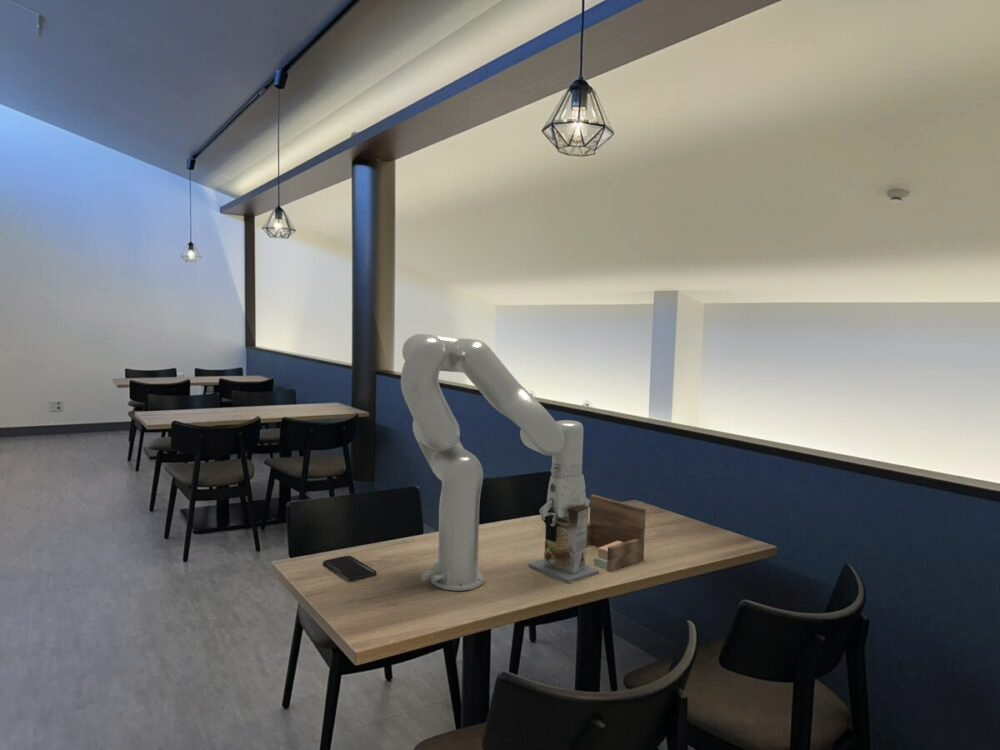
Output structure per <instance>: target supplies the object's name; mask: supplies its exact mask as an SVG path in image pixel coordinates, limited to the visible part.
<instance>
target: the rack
mask: <svg viewBox="0 0 1000 750" xmlns="http://www.w3.org/2000/svg"><path fill="white" fill-rule="evenodd" d="M589 498H590V499H589V500H590V503H589V522H588V523H587V540H586V547H589V546H594V547H597V548H599V547H602V546H605V545H607V544H610V543H613V542H615V541H621V542H623V543H620V544H617V545H613V546H610V547H608V558H607V569H606V571H608V572H614V571H617V570H619V569H622V568H626V567H628V566H631V565H634V564H637V563H641V562H643V561H644V554H645V553H644V552H645V534H646V533H645V531H646V530H645V529H646V512H647V511H646V508H644V507H640V506H636V505H633V504H629V503H625V502H621V501H618V500H615V499H611V498H608V497H603V496H600V495H598V494H591V495H590V497H589Z"/></svg>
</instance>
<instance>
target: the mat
mask: <svg viewBox="0 0 1000 750" xmlns="http://www.w3.org/2000/svg"><path fill="white" fill-rule="evenodd" d="M528 566H529V568H531V569H533V570H535V569H536V570H535V571H538V572H540V573H543V574H546V575H547V574H548V576H550V577H552V578H554V577H555V578H554V579H557V580H559V579H560V580H559V581H561V580H562V582H564V581H565V582H564V583H566V582H568V583H569V584H571V583H573V582H572V581H574V582H577V581H580V580H583V579H586V578H589V577H592V576H595V575H598V574H599V572H600V571H599V569H597V568H594V567H591V566H590V565H589V566H588V565H586V564H585V568H583V569H581V570H580V571H578V572H576V573H575V574H572V573H569V572H565V571H562V570H558V569H555V568H551V567H548V566H545V565H544V558H542V559H540V560H536V561H532V562H528ZM594 574H595V575H594ZM588 576H589V577H588ZM585 577H586V578H585ZM582 578H583V579H582ZM579 579H580V580H579ZM576 580H577V581H576ZM570 582H571V583H570ZM568 583H567V584H568Z"/></svg>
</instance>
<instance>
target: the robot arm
mask: <svg viewBox="0 0 1000 750" xmlns="http://www.w3.org/2000/svg"><path fill="white" fill-rule="evenodd" d="M402 357H403V360H404V363H403V366H402V369H401V375H400V388H401V389H400V390H401V393H402V396H403V398H404V401H405V403H406V405H407V407H408V410H409V412H410V415H411V416H412V418H413V421H412V432H413V435H414V438H415V440H416V442H417V444H418V445H419V448H420V450H421V451H422V453H423V456H424V457H425V459H426V461H427V463H428V465H429V466H430V468H431V470H432V473H433V474H434V475H435V476H436V478H438V479H439V480H440V481H441V490H440V497H439V507H438V548H437V549H438V551H437V553H438V554H437V562H435V563H433V564H434V566H433V568H431V570H425V571H422V572H420V580H421V581H427V580H430V579H431V580H430V582H431V583H432V585H433V586H435V587H437V588H439V589H442V590H446V591H456V592H459V591H461V592H462V591H469V590H470V591H471V590H474V589H477V588H478V587H480V586H482V585H483V584H484V581H485V577H484V574H483V572H481V571H480V570H478V569H479V567H478V566H479V538H480V537H479V535H480V534H479V533H480V504H481V503H480V500H481V493H482V488H483V487H482V486H483V482H484V481H483V480H484V471H483V466H482V464H481V462H480V460H479V459H478V458H477V456H476V455H474V454H473V453H472V452H470V451H468V450H467V449H465V447H464V446H463V445H462V442H461V441H460V436H461V430H460V425H459V422H458V421H457V418H456V417H455V416H454V414H453V411H452V410H451V408H450V406H449V404H448V401H447V400H446V398H445V396H444V394H443V391H442V389H441V387H440V382H439V375H440V372H448V373H461V374H462V373H463V374H464V375H465V376H466V378H468V379H469V380H470V382H471V383H472V384H473V385H474V386H475V387H476V389H477V390H478V391H479V392H480V393H481V395H482V396H483V397H484V398H485V400H486V401H487V402H488V404H490V405H491V406H492V407H493V408H494V409H495V411H498V412H499V413H500V414H502V415H503V416H505V417H507V418H508V419H509V420H511V422H513V423H514V424H515V425H516V426H518V427H519V428H520V431H519V436H520V440H521V441H522V443H523V445H524V446H526V447H527V448H529V449H531V450H533V451H535V452H537V453H540V454H542V455H544V456H548V457H550V456H552V457H551V468H550V473H551V475H550V478H549V481H548V482H549V483H548V486H547V487H548V488H547V494H546V495H547V497H546V503H545V504H544V505H543V506H542V507H540V509H539V510H538V511H539V514H540V516H541V517H540V518H541V520H542V521H543V523H544V524H545V535H546V539H547V540H550V541H552V542H556V536H557V526H555V524H556V522H557V520H558V518H566V517H567V513H568V508H572V507H577V506H582V505H586V506H588V507H590V499H589V498H587V495H586V482H585V481H586V480H585V477H584V474H583V453H584V452H583V450H584V448H583V447H584V426H583V423H581V422H580V421H577V420H572V419H571V420H569V419H566V420H565V419H564V420H555V418H553V416H552V415H551V414H550V412H549V411H548V410H547V409H546V408H545V407H544V406H543V405H542V404H541V403H540V402H539V401H538V400H537V399H536V398H535V397H534V396H533V395H532V394H530V392H529V391H528V390H527V389H526V388H525V387H524V386H523V385H522V384H521V383H520V382H519V381H518V380H517V379H516V377H515V376H514V375H513V374H512V373H511V372H510V371H509V369H508V368H507V367H506V366H505V365H504V363H503V362H502V361H501V359H500V358H499V357H498V356H497V355H496V354H495V352H494V351H493V350H492V348H490V347H489V345H488V344H486V342H483V341H482V340H480V339H474V338H458V337H446V336H440V335H439V336H438V335H433V334H428V333H427V334H425V333H417V334H414V335H411V336H410V337H409V338H407V339H406V340H405V342H404V343H403V345H402ZM554 511H555V513H554ZM547 513H548V514H547ZM552 516H553V519H552V520H551V518H552Z"/></svg>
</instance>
